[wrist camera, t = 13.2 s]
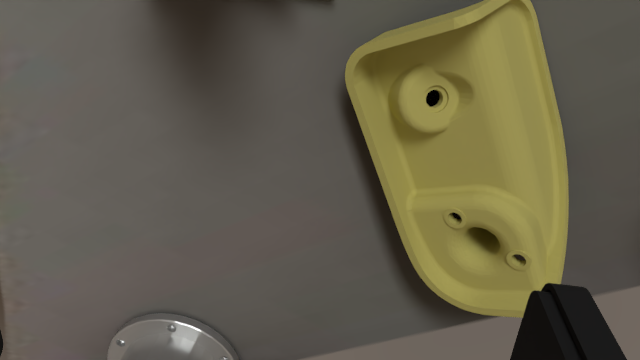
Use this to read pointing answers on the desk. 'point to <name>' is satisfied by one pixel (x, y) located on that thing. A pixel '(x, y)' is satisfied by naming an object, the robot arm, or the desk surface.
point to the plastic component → (469, 151)
